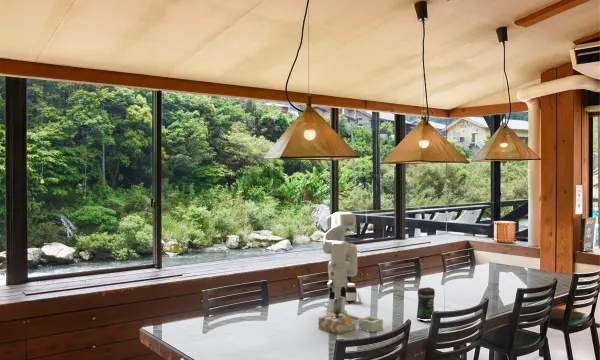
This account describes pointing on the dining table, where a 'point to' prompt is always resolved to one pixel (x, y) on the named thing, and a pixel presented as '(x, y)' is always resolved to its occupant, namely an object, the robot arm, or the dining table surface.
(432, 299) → the coffee jar
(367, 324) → the pale green square tray
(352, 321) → the locking fork
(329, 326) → the socket block
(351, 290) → the spread jar
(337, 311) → the peg
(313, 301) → the dining table surface
